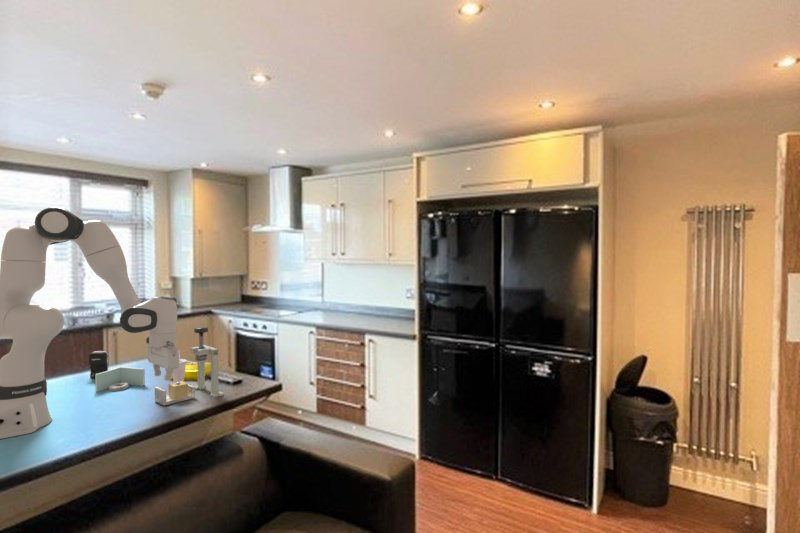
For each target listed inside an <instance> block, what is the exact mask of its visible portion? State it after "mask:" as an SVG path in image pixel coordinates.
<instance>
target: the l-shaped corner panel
mask: <svg viewBox="0 0 800 533" xmlns="http://www.w3.org/2000/svg"><path fill="white" fill-rule="evenodd" d="M145 373H146V372H145V368H141V367H140V368H139V367H129V366H128V367H127V366H118V367H115V368H112V369H108V371H105V372H102V373H98V374H95V378H94V379H95V380H94V381H95V382H94V383H95V387H94V388H95V393H98V392H101V391H104V390H106V389H108V391H110V392H118V391H124V390H126V389H128V388H129V386H130V385H131V386H138V385H140V387H143V385H144V386H146V385H145V384H146V381H145V380H146V377H145V375H146V374H145ZM128 384H129V385H128Z"/></svg>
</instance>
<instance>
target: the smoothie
mask: <svg viewBox="0 0 800 533" xmlns="http://www.w3.org/2000/svg"><path fill="white" fill-rule="evenodd" d="M178 353H179V367H178V368H177V369H173V373H172V375H173V381H172V382H173V383H175V382H179V381H183V382H185V380H184V377H185V368H186V363H187V362H188V361H187V359H183V358H182V359H181V350H179V349H178Z"/></svg>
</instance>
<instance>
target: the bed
mask: <svg viewBox="0 0 800 533" xmlns="http://www.w3.org/2000/svg"><path fill="white" fill-rule="evenodd" d="M187 384H188V395H187V396H183V397H179V398H175V399H174V398H172V397H170V396H169V394H167V390H165V389H163V388H161V387H159V386H155V387H154V401H155V402H156V403H157V404H159V405H161V406H163V407H164V406H168V405H172V404H177V403H181V402H183V401H184V402H185V401H188V400H192V399H195V398H196V390H195V387H194V386H195V385H191V384H189V383H187Z"/></svg>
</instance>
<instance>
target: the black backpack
mask: <svg viewBox="0 0 800 533" xmlns="http://www.w3.org/2000/svg"><path fill="white" fill-rule="evenodd" d="M109 358H110V357H109V352H108V351H106V350H105V351H104V350H97V351H92V352H91V353H89V354H88V366H90V367H89V368H90V374H89V377H90V379H95V374H98V373H102V372H105V371H108V370H109V363H110V362H109Z"/></svg>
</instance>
